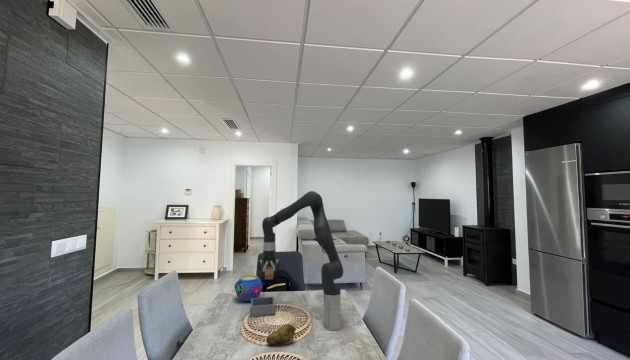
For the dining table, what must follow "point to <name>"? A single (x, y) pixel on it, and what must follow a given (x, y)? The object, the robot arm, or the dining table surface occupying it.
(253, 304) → the charcoal bin
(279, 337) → the green pear
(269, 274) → the walnut block
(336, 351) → the dining table surface
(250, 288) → the ceramic pot
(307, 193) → the robot arm
